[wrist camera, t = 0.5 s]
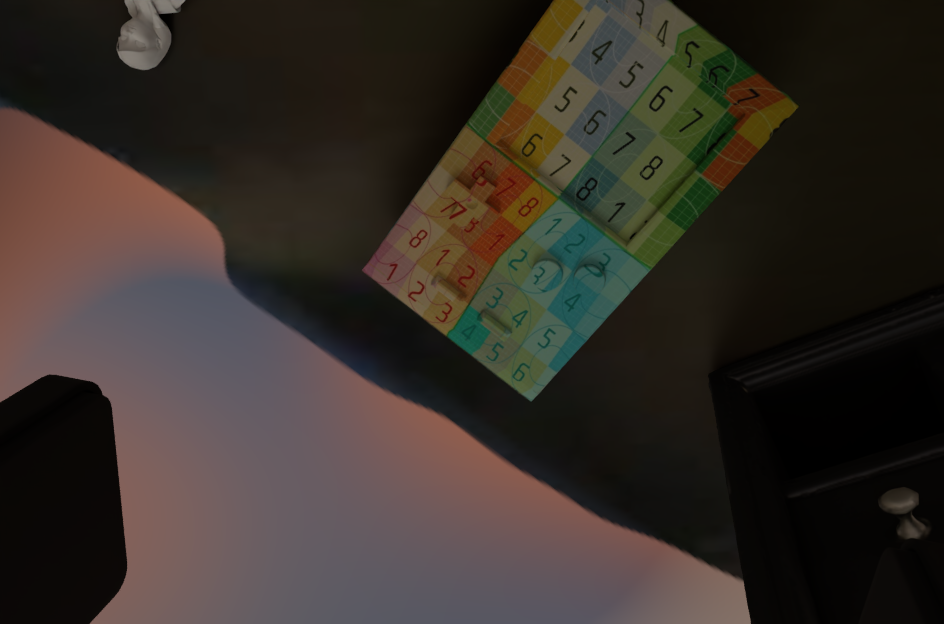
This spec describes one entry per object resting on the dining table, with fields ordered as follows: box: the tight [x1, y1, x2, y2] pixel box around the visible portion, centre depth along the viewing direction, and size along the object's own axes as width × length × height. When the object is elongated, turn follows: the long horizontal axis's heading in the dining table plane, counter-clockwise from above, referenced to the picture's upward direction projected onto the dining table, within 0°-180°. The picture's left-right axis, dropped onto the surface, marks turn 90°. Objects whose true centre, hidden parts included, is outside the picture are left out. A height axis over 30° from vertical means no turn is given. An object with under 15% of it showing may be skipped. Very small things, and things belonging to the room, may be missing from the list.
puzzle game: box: [362, 0, 800, 402], centre depth 41 cm, size 12×5×20 cm
